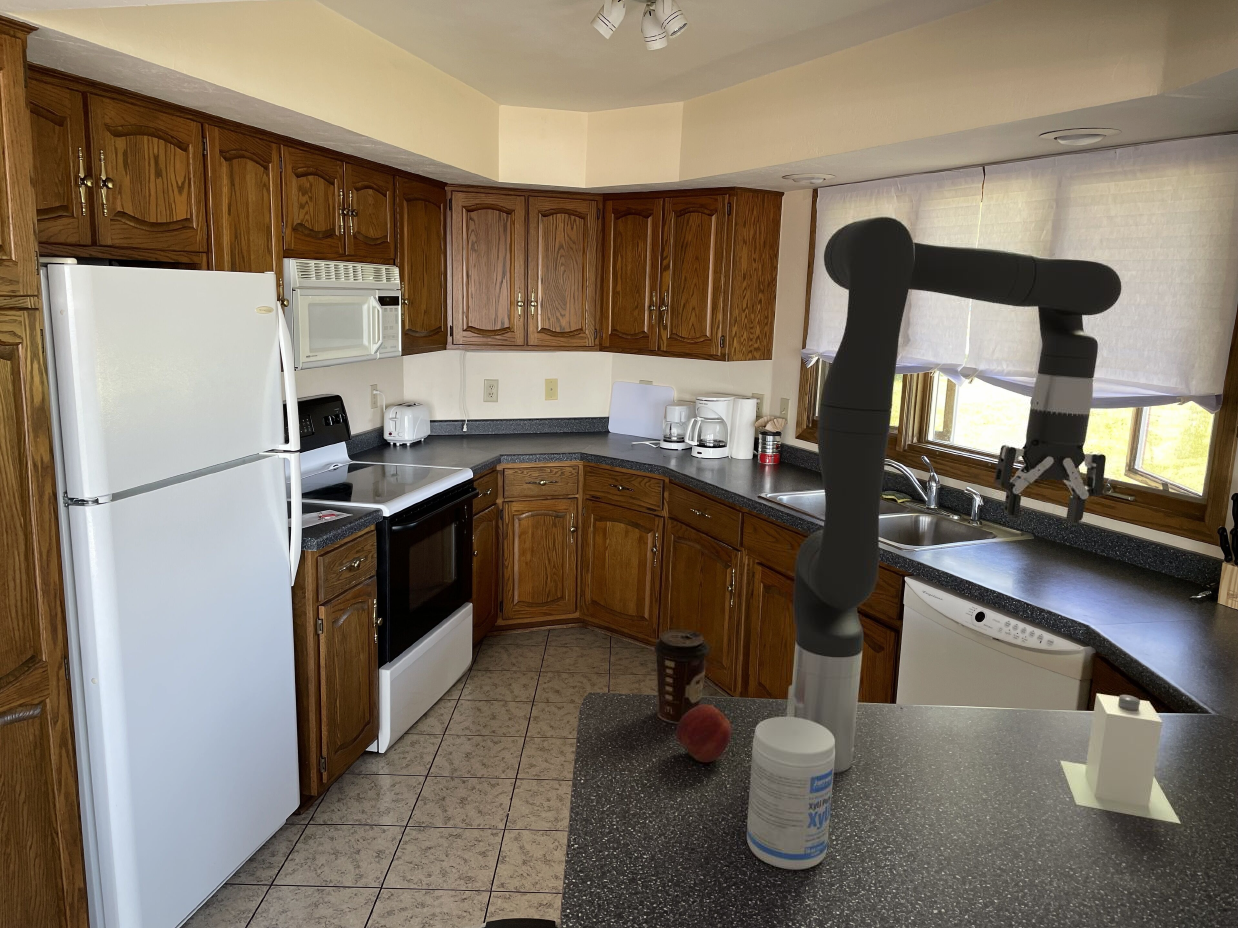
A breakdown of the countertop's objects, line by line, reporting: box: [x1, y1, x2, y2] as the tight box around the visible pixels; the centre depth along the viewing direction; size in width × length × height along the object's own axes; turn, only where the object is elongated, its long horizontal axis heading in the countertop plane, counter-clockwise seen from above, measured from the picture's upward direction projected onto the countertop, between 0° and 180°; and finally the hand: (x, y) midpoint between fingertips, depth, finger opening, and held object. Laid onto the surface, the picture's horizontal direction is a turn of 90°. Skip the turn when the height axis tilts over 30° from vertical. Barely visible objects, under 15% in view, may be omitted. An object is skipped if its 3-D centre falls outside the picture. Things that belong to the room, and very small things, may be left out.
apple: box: [675, 704, 732, 763], centre depth 123 cm, size 7×8×8 cm
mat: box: [1059, 760, 1181, 824], centre depth 117 cm, size 12×12×1 cm
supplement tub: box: [746, 716, 835, 870], centre depth 102 cm, size 10×10×15 cm
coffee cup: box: [653, 629, 711, 725], centre depth 135 cm, size 9×8×13 cm
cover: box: [1085, 693, 1163, 807], centre depth 116 cm, size 6×6×13 cm
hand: (1042, 520), depth 124 cm, fingers open, 8 cm apart
